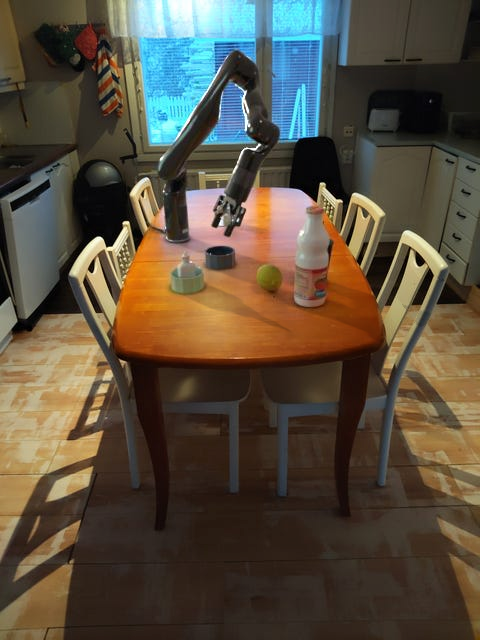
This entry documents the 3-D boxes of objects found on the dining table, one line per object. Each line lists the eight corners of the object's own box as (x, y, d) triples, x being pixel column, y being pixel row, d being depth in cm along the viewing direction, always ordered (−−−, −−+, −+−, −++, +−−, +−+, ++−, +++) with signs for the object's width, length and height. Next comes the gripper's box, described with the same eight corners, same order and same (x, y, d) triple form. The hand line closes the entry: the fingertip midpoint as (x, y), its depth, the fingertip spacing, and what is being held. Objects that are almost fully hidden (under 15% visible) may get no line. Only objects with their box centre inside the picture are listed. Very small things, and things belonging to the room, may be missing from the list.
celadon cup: (166, 285, 149) (164, 271, 147) (193, 277, 155) (192, 263, 152) (182, 296, 142) (181, 281, 140) (210, 287, 147) (209, 273, 145)
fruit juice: (297, 292, 143) (301, 202, 129) (327, 295, 140) (334, 204, 127) (290, 305, 135) (294, 211, 122) (322, 309, 133) (330, 214, 119)
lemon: (285, 295, 141) (286, 271, 138) (260, 297, 140) (260, 273, 136) (277, 280, 151) (277, 258, 147) (253, 283, 150) (253, 260, 146)
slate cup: (200, 263, 166) (199, 250, 163) (223, 256, 171) (223, 243, 168) (216, 272, 158) (216, 258, 156) (240, 264, 164) (240, 251, 161)
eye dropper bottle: (179, 284, 150) (175, 249, 144) (196, 283, 151) (193, 248, 145) (179, 290, 146) (176, 254, 140) (197, 288, 147) (194, 253, 141)
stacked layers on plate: (238, 225, 203) (237, 213, 200) (217, 225, 203) (217, 213, 200) (238, 218, 212) (238, 207, 209) (219, 219, 212) (218, 207, 209)
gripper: (261, 194, 140) (239, 242, 145) (238, 181, 150) (218, 227, 155) (242, 185, 135) (220, 236, 140) (220, 173, 146) (200, 221, 150)
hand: (219, 231), depth 148 cm, fingers open, 8 cm apart
